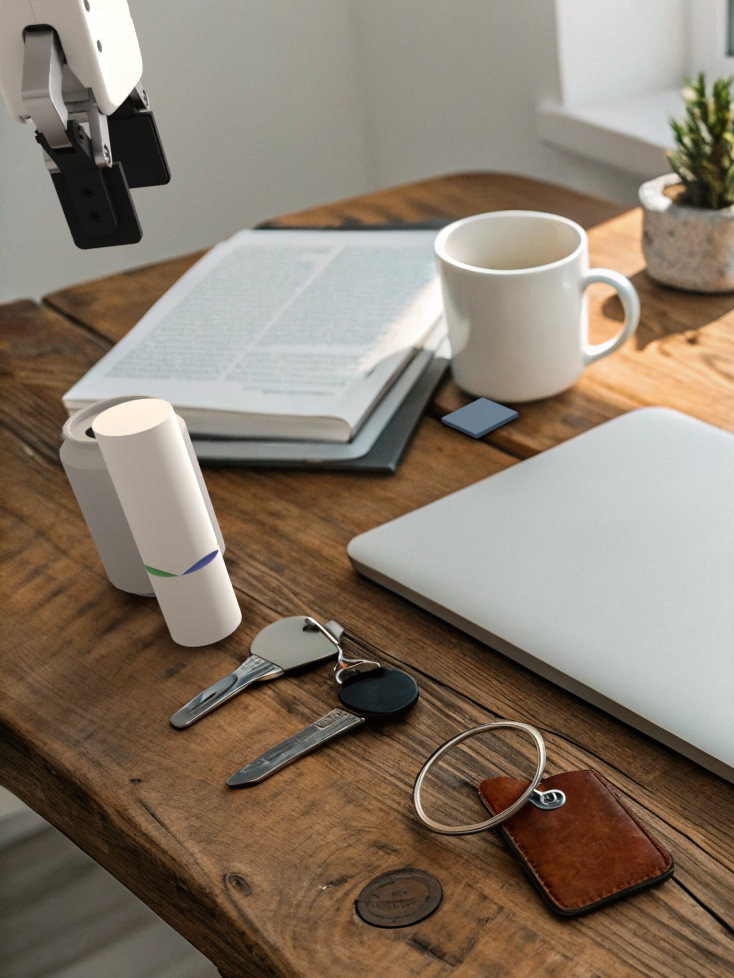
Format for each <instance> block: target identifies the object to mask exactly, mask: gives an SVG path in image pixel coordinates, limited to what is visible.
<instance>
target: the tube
mask: <svg viewBox="0 0 734 978" xmlns="http://www.w3.org/2000/svg"><path fill="white" fill-rule="evenodd" d="M172 405H173V404H171V403H170V402H169V401H166V400H164V399H163V400H160V399H139V400H133V401H128V402H125V403H121V404H119V405H116V406H113V407H111V408H109V409H107V410H105V411H104V412H102V413H101V414H99V415H98V416H97V417H96V418H95V419H94V421H93V423H92V429H93V431H94V434H95V437H96V439H97V442H98V445H99V447H100V450H101V453H102V455H103V458H104V460H105V463H106V466H107V468H108V471H109V474H110V476H111V479H112V481H113V484H114V487H115V489H116V492H117V495H118V497H119V500H120V503H121V505H122V508H123V510H124V513H125V516H126V518H127V521H128V524H129V526H130V529H131V531H132V534H133V537H134V539H135V542H136V545H137V547H138V550H139V552H140V555H141V558H142V560H143V563H144V564H145V568H146V571H147V573H148V576H149V579H150V581H151V584H152V587H153V589H154V592H155V594H156V597H155V598H156V600H157V602H158V605H159V608H160V610H161V613H162V615H163V618H164V621H165V623H166V626H167V629H168V631H169V634H170V636H171V639H172V640H173V641H174V642H175V643H176V644H178V645H180V646H184V647H190V648H191V647H192V648H193V647H194V648H195V647H197V648H198V647H204V646H208V645H212V644H214V643H217V642H220V641H221V640H223V639H225V638H227V637H228V636H229V635H231V634H232V633H233V632H235V631H236V630H237V629H238V627H239V626H240V624H241V622H242V619H243V616H242V612H241V609H240V606H239V605H240V604H239V602H238V600H237V597H236V594H235V591H234V588H233V585H232V581H231V579H230V575H229V573H228V571H227V570H228V569H227V567H226V565H225V561H224V557H222V554H221V551H220V548H219V545H218V543H217V539H216V536H215V533H214V530H213V527H212V524H211V521H210V518H209V515H208V512H207V509H206V506H205V503H204V500H203V497H202V494H201V491H200V488H199V485H198V482H197V479H196V476H195V473H194V470H193V467H192V464H191V461H190V458H189V455H188V452H187V449H186V446H185V443H184V440H183V437H182V434H181V431H180V428H179V425H178V422H177V419H176V416H175V413H176V412H175V410H174V408H173V406H172Z"/></svg>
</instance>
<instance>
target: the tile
mask: <svg viewBox="0 0 734 978" xmlns="http://www.w3.org/2000/svg"><path fill="white" fill-rule="evenodd" d="M516 418H519V413H518V411H515V410H514V409H511V408H508V407H506V406H504V405H501V404H499V403H497V402H494V401H492V400H490V399H488V398H486V397H480V398H479V399H476V400H475V401H472V402H470V403H469V404H467V405H464V406H462V407H461V408H458V409H457V410H455V411H453V412H451V413H449V414H446V415H445V416H443V417H441V418H440V420H441V423H443V424H444V425H447V426H449V427H451V428H453V429H455V430H457V431H459V432H462V433H464V434H466V435H468V436H470V437H472V438H475V439H479V438H481V437H482V436H485V435H487V434H489V433H490V432H492V431H494V430H496V429H499V428H500V427H502V426H504V425H505V424H507V423H510V422H511V421H513V420H515V419H516Z"/></svg>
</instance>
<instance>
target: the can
mask: <svg viewBox="0 0 734 978" xmlns="http://www.w3.org/2000/svg"><path fill="white" fill-rule="evenodd" d="M139 399H160V400H164V399H163V398H161V397H159V396H155V395H151V394H139V393H135V394H124V395H118V396H113V397H109V398H105V399H102V400H99V401H96V402H93V403H91V404H89V405H87V406H85V407H83V408H81V409H78V410H77V411H76V412H75V413H73V414H72V415H71V416H70V417H68V418H67V420H66V421H65V422H64V424H63V426H62V430H61V431H62V436H63V438H65V439H64V441H63V442H62V445H61V447H60V448H59V459H60V462H61V464H62V466H63V470H64V471H65V474H66V477H67V479H68V481H69V484H70V486H71V489H72V491H73V493H74V496H75V499H76V501H77V504H78V506H79V509H80V511H81V514H82V516H83V518H84V521H85V523H86V526H87V529H88V531H89V533H90V536H91V538H92V541H93V543H94V546H95V548H96V551H97V554H98V556H99V559H100V561H101V563H102V565H103V568H104V571H105V573H106V575H107V579H108V581H109V582H110V583H111V584H112V585H113V586H114V587H115V588H117V589H119V590H121V591H124V592H126V593H130V594H135V595H137V596H140V597H150V598H151V597H152V598H157V597H156V594H155V592H154V589H153V587H152V584H151V581H150V579H149V576H148V573H147V571H146V568H145V564H144V563H143V560H142V558H141V555H140V552H139V550H138V547H137V545H136V542H135V539H134V537H133V534H132V531H131V529H130V526H129V524H128V521H127V518H126V516H125V513H124V510H123V508H122V505H121V503H120V500H119V497H118V495H117V492H116V489H115V487H114V484H113V481H112V479H111V476H110V474H109V471H108V468H107V466H106V463H105V460H104V458H103V455H102V453H101V450H100V447H99V445H98V442H97V439H96V437H95V434H94V431H93V429H92V423H93V421H94V419H95V418H96V417H97V416H98V415H99V414H101V413H102V412H104V411H105V410H107V409H109V408H111V407H113V406H116V405H119V404H121V403H125V402H128V401H133V400H139ZM174 413H175V416H176V419H177V422H178V425H179V428H180V431H181V434H182V437H183V440H184V443H185V446H186V449H187V452H188V455H189V458H190V461H191V464H192V467H193V470H194V473H195V476H196V479H197V482H198V485H199V488H200V491H201V494H202V497H203V500H204V503H205V506H206V509H207V512H208V515H209V518H210V521H211V524H212V527H213V530H214V533H215V536H216V539H217V543H218V545H219V548H220V551H221V554H222V557H223V556H224V554H225V551H226V545H225V541H224V537H223V534H222V531H221V528H220V525H219V521H218V519H217V516H216V513H215V509H214V506H213V504H212V501H211V498H210V495H209V492H208V491H209V490H208V489H207V486H206V483H205V479H204V475H203V473H202V470H201V467H200V465H199V461H198V458H197V455H196V452H195V449H194V446H193V443H192V440H191V437H190V434H189V430H188V428H187V424H186V421H185V419H183V418H182V417H181V416H180V415H179V414H178V413H176V412H174ZM223 558H224V557H223Z"/></svg>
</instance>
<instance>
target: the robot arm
mask: <svg viewBox="0 0 734 978" xmlns="http://www.w3.org/2000/svg"><path fill="white" fill-rule="evenodd" d="M142 75H143V58H142V53H141V48H140V45H139V40H138V35H137V32H136V28H135V25H134V21H133V17H132V14H131V10H130V8H129V3H128V1H127V0H0V94H1V96H2V97H1V98H2V100H3V103H4V106H5V108H6V111H7V114H8V115H9V116H10V117H11V118H12V119H14V120H15V121H16V122H18V123H20V124H23V125H26V124H31V123H33V125H34V126H35V127H36V129H35V130H34V133H35V135H34V138H35V141H36V143H37V144H38V145H40V147H41V149H42V157H43V162H44V165H45V168H46V170H47V171H48V173H49V175H50V179H51V181H52V184H53V187H54V190H55V193H56V196H57V199H58V201H59V203H60V207H61V209H62V212H63V216H64V218H65V221H66V224H67V225H68V229H69V232H70V235H71V238H72V240H73V243H74V245H75V247H76V248H78V249H79V250H84V251H87V250H93V249H102V248H111V247H120V246H127V245H129V246H130V245H135V244H139V243H140V242H141V241H142V239H143V237H144V232H143V229H142V225H141V222H140V219H139V216H138V213H137V208H136V206H135V203H134V200H133V197H132V193H131V190H132V189H133V190H134V189H142V188H150V187H160V186H166V185H168V184H169V183H170V181H171V179H172V173H171V169H170V167H169V162H168V159H167V156H166V152H165V149H164V146H163V143H162V139H161V135H160V132H159V128H158V125H157V121H156V119H155V114H154V111H153V110H150V101H149V96H148V93H147V91H146V89H145V87H144V85H143V83H142V81H141V80H140V79H141V77H142ZM85 123H86V124H88V129H89V135H88V133H87V132H86V131H85V128H84V126H83V125H81V124H85Z"/></svg>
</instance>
